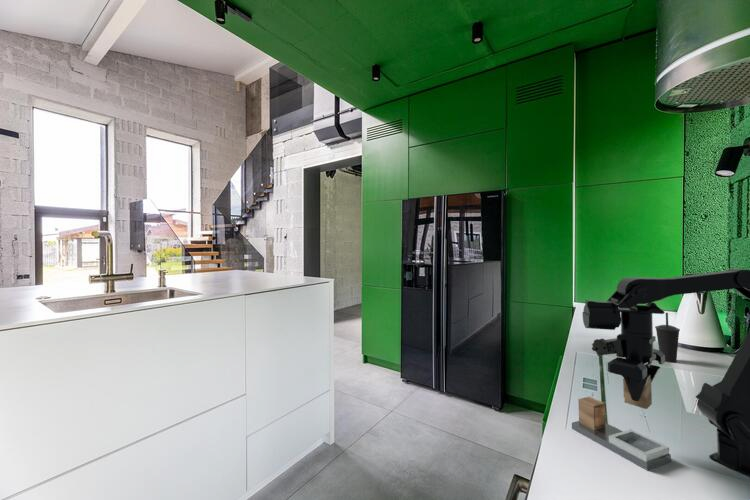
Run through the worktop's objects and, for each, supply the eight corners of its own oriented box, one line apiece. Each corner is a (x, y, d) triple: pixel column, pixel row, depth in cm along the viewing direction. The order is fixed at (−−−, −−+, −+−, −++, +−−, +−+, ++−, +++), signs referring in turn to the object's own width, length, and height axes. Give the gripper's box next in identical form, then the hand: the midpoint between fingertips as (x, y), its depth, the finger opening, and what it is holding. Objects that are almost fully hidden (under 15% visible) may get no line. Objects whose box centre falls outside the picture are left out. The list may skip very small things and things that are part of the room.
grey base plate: (593, 422, 84) (593, 411, 84) (671, 461, 68) (670, 447, 68) (571, 428, 81) (571, 416, 81) (647, 470, 65) (646, 456, 65)
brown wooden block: (589, 419, 83) (589, 396, 83) (606, 427, 79) (605, 403, 79) (579, 422, 81) (578, 399, 82) (595, 430, 77) (594, 406, 78)
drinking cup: (651, 358, 133) (650, 311, 133) (663, 356, 135) (662, 310, 136) (673, 364, 126) (671, 315, 126) (685, 362, 128) (684, 313, 128)
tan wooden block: (651, 404, 72) (651, 378, 73) (646, 409, 70) (646, 382, 70) (628, 397, 76) (628, 372, 76) (623, 402, 74) (622, 376, 74)
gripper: (610, 320, 85) (611, 377, 85) (581, 330, 74) (582, 396, 74) (664, 327, 76) (666, 392, 76) (640, 340, 65) (642, 415, 65)
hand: (638, 398), depth 73 cm, fingers closed on tan wooden block, 4 cm apart
